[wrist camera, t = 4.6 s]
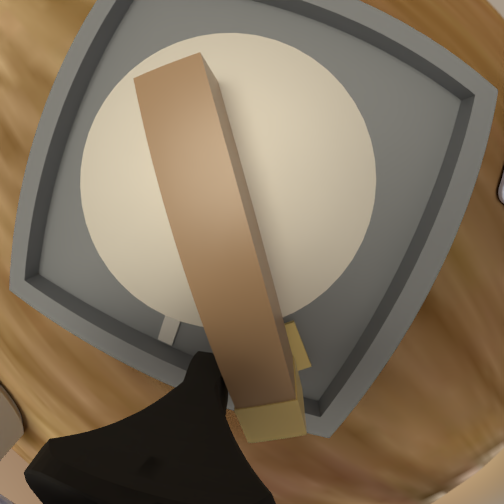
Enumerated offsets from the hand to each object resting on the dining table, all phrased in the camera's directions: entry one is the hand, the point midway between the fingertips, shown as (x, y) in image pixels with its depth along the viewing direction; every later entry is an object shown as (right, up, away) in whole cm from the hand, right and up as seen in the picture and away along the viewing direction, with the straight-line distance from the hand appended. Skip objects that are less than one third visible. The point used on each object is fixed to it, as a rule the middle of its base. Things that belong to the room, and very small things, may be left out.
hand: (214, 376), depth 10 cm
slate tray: (0, +7, +2) cm, 8 cm away
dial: (+1, +6, +1) cm, 6 cm away
